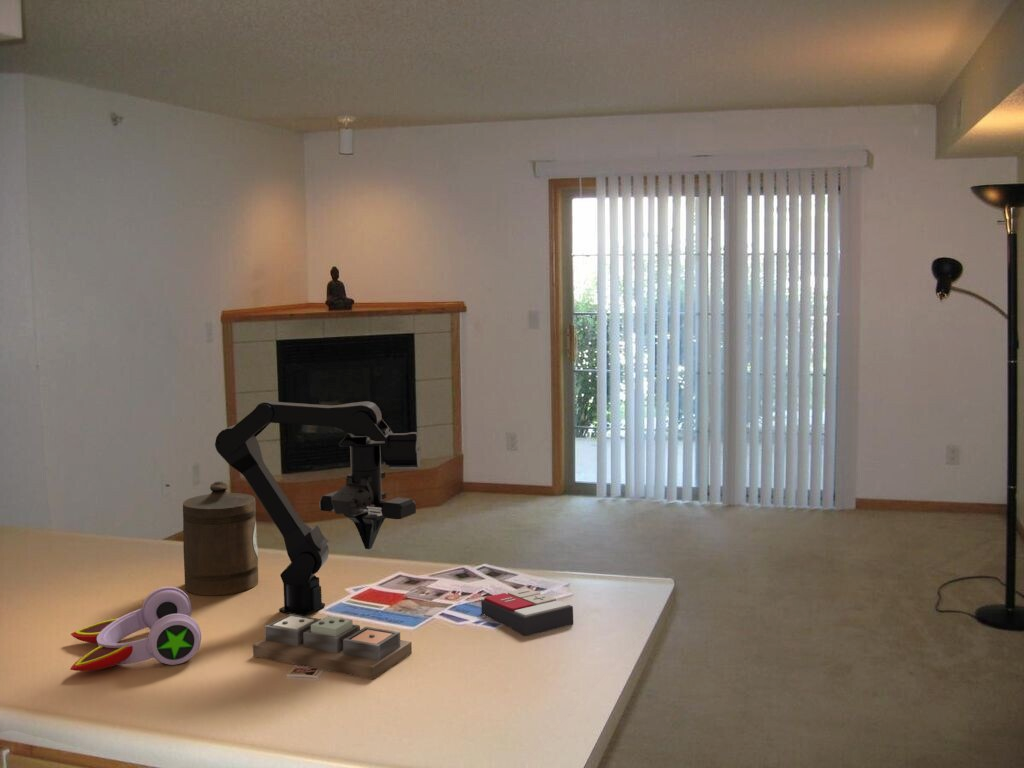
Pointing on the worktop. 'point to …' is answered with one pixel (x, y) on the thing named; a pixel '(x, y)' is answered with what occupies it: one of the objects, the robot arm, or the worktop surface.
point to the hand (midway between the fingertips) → (368, 548)
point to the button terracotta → (372, 636)
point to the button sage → (331, 626)
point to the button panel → (332, 649)
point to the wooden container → (220, 542)
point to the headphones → (166, 641)
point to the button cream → (293, 622)
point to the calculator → (528, 611)
